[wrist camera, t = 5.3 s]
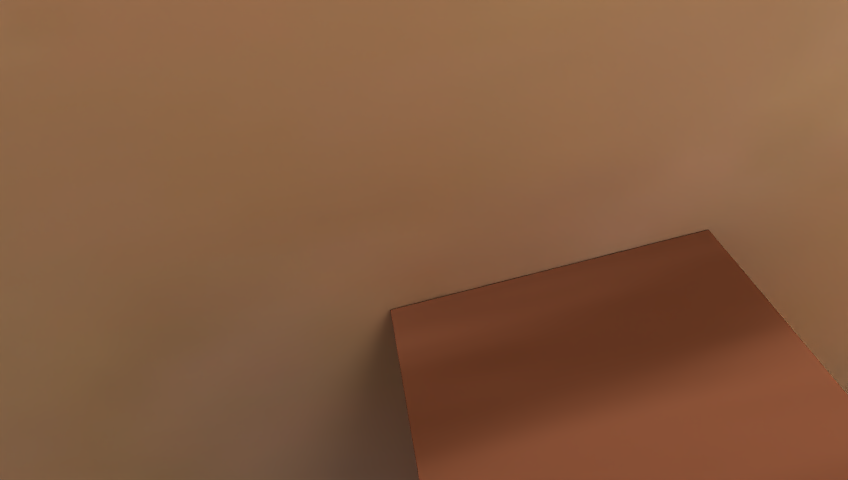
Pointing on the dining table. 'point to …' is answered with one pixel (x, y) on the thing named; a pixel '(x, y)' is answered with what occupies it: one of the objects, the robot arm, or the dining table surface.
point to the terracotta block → (619, 376)
